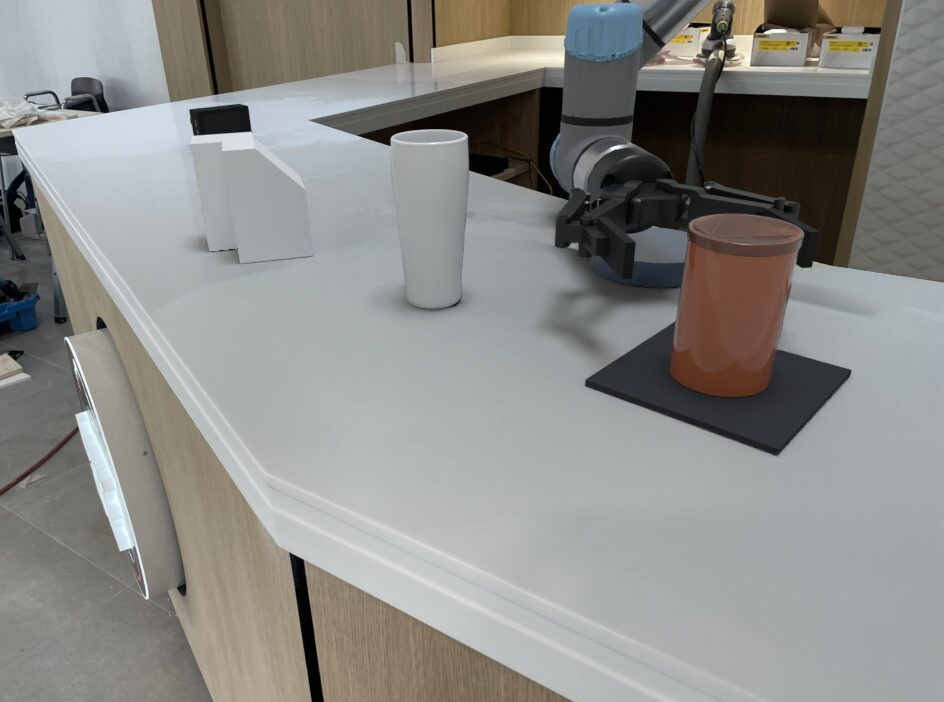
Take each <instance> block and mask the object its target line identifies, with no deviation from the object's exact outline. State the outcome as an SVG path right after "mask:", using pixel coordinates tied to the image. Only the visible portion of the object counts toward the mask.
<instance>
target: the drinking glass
mask: <svg viewBox="0 0 944 702" xmlns="http://www.w3.org/2000/svg"><path fill="white" fill-rule="evenodd" d="M390 171H391V172H390V175H391V186H392V194H393V195H392V196H393V203H394V209H395V210H394V211H395V217H396V225H397V232H398V239H399V246H400V254H401V263H402V269H403V278H404V294H405V295H404V296H405V299H406V300H407V302H408V303H409V304H410V305H413V306H415V307H417V308H421V309H427V310H436V309H444V308H448V307H452V306H453V305H455V304H456V303H458V302H459V301H460V300H461V299H462V295H463V268H464V267H463V266H464V254H465V253H464V252H465V240H466V239H465V238H466V227H467V226H466V225H467V217H468V216H467V215H468V205H469V204H468V203H469V189H470V188H469V187H470V149H469V135H468V134H466V133H465V132H463V131H458V130H453V129H416V130H415V129H414V130H408V131H403V132H398V133H396V134H395V133H394V134H393V135H392V136H390Z"/></svg>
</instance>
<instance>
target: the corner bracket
mask: <svg viewBox="0 0 944 702" xmlns="http://www.w3.org/2000/svg"><path fill="white" fill-rule="evenodd" d="M189 146H190V152H191V157H192V162H193V166H194V167H193V168H194V174H195V178H196V179H195V180H196V185H197V190H198V196H199V202H200V206H201V213H202V218H203V223H204V229H205V234H206V241H207V246H208V251H209V253H211V252H210V251H215V252H220V251H219V250H225V251H230V250H229V249H235V250H237V253H238V260H239V264H249V263H250V264H251V263H259V262H269V261H278V260H288V259H297V258H306V257H307V258H308V257H314V252H313V243H312V235H311V225H310V216H309V207H308V206H309V205H308V197H307V190H306V187H305V185H304V183H303V179H302V178H301V175H300V174H299V173H297V172H296V171H295V170H294V169H292V168H291V167H290V166H289V165H287V164H286V163H285V162H284V161H283V160H282V159H280V158H279V157H278V156H277V155H276V154H274V153H273V151H271V150H269V148H267V147H266V146H265V145H264V144H262V143H261V142H260V141H259V140H257V139H256V138H255V137H254V136H253V131H252V132H242V133H227V134H213V135H199V136H194V135H192V136H191V138H190V142H189ZM237 248H238V249H237Z"/></svg>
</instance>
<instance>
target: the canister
mask: <svg viewBox="0 0 944 702" xmlns="http://www.w3.org/2000/svg"><path fill="white" fill-rule="evenodd" d="M686 232H687V238H688V240H687V247H686V254H685V261H684V268H683V274H682V281H681V287H679V288H680V289H679V295H678V303H677V310H676V317H675V321H676V323H675V330H674V336H673V343H672V350H671V357H670V364H669V371H670V374H671V376H672V377H673V378H674V379H675V380H676V381H677V382H678V383H680V384H681V385H683V386H685V387H687V388H689V389H691V390H694V391H697V392H700V393H703V394H708V395H713V396H719V397H746V396H751V395H755V394H758V393H760V392H762V391H764V390H765V389H766V388H767V387H768V386H769V384H770V380H771V375H772V371H773V366H774V362H775V357H776V353H777V349H778V347H779V343H780V338H781V334H782V330H783V325H784V321H785V316H786V311H787V307H788V303H789V299H790V293H791V289H792V286H793V285H792V284H793V279H794V276H795V271H796V266H797V265H796V262H797V258H798V253H799V249H800V248H801V246H802V243H803V239H804V232H803V230H802V229H801V228H799V227H798V226H796V225H794V224H791V223H789V222H786V221H783V220H779V219H775V218H770V217H764V216H758V215H748V214H716V215H708V216H703V217H699V218H696V219H694V220H692V221H691V222H690V223H689V225H688V229H687V230H686Z"/></svg>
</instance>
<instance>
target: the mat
mask: <svg viewBox="0 0 944 702" xmlns="http://www.w3.org/2000/svg"><path fill="white" fill-rule="evenodd" d="M675 323H676V320H675V321H673V322H672V323H670V324H669V325H667V326H666V327H664V328H663V329H661V330H659V331H658V332H657V333H655V334H653V335H652V336H650V337H649V338H648V339H646V340H644V341H642V342H641V343H639V344H637V345H636V346H635V347H633V348H632V349H630V350H629V351H627V352H626V353H624V354H622V355H620V356H619V357H617V358H616V359H614V360H613V361H612V362H610V363H609V364H607V365H606V366H604V367H602V368H600V370H598V371H597V372H594V373H593V374H591V375H590V376H589V377H587V378H586V379H585V380H584V385H585V387H589V388H592V389H594V390H597V391H600V392H602V393H605V394H608V395H611V396H612V397H613V396H614V397H616V398H619V399H622V400H624V401H627V402H630V403H632V404H635V405H638V406H641V407H643V408H647V409H649V410H652V411H655V412H657V413H660V414H663V415H665V416H668V417H670V418H674V419H676V420H679V421H681V422H684V423H688V424H690V425H693V426H696V427H698V428H701V429H704V430H707V431H709V432H711V433H715V434H717V435H720V436H723V437H726V438H729V439H731V440H733V441H736V442H739V443H742V444H744V445H747V446H750V447H753V448H755V449H758V450H761V451H763V452H767V453H769V454H771V455H774V456H778V455H779V454H780V453H781V452H782V451H783V450H784V449H785V448H786V446H787V445H788V444H790V442H791V441H792V440H793V439H794V438H795V437H796V436H797V434H798V433H799V432H800V431H801V430H802V429H803V428H804V427H805V426H806V425H807V423H808V422H809V421H810V420H811V419H812V418H813V417H814V416H815V415H816V414H817V413H818V411H820V409H821V408H822V407H823V406H824V405H825V404H826V403H827V402H828V401H829V400H830V399H831V397H832V396H833V395H834V394H835V393H836V392H837V391H838V389H840V388H841V387H842V385H843V384H844V383H845V382H846V381H847V380H848V379H849V378H850V377H851V374H852V369H850V368H848V367H847V368H846V367H844V366H839V365H835V364H832V363H829V362H825V361H822V360H818V359H814V358H810V357H807V356H803V355H800V354H797V353H793V352H789V351H785V350H782V349H778V348H777V353H776V357H775V362H774V366H773V371H772V375H771V380H770V384H769V386H768V387H767V388H766V389H765V390H764V391H762V392H760V393H758V394H755V395H751V396H746V397H719V396H713V395H708V394H703V393H700V392H697V391H694V390H691V389H689V388H687V387H685V386H683V385H681V384H680V383H678V382H677V381H676V380H675V379H674V378H673V377H672V376H671V374H670V371H669V364H670V357H671V350H672V343H673V336H674V330H675Z"/></svg>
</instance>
